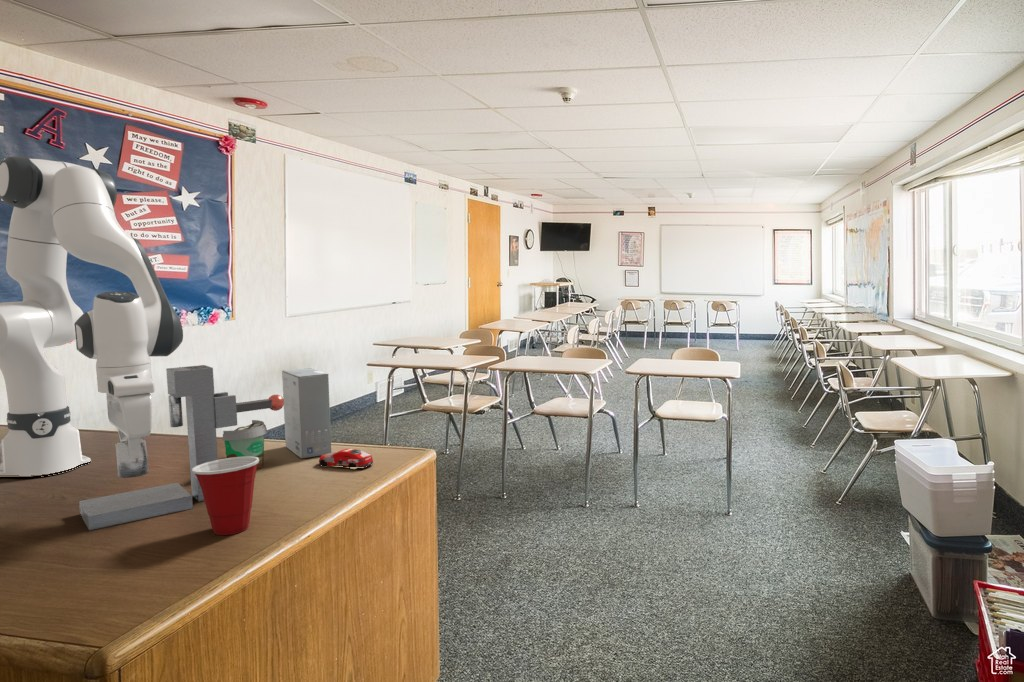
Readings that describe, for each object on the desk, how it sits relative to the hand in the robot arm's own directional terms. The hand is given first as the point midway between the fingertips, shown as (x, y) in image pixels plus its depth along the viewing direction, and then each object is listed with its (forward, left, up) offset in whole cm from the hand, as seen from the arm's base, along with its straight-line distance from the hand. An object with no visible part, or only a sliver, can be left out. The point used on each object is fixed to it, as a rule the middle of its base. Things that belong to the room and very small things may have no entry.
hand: (130, 453), depth 130 cm
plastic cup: (+21, +11, -11) cm, 27 cm away
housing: (0, 0, -4) cm, 4 cm away
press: (0, +5, -11) cm, 12 cm away
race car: (-2, +44, -12) cm, 45 cm away
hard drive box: (-22, +43, -11) cm, 49 cm away
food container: (-15, +27, -11) cm, 33 cm away
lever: (-1, +22, +4) cm, 23 cm away
